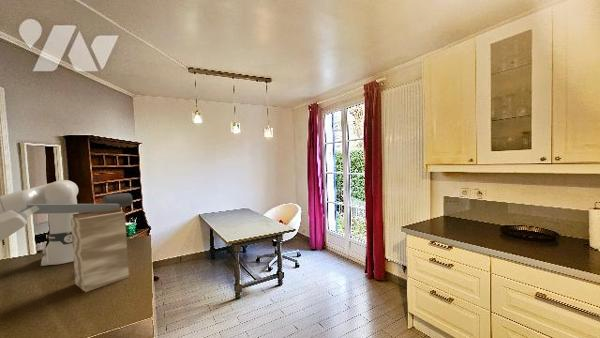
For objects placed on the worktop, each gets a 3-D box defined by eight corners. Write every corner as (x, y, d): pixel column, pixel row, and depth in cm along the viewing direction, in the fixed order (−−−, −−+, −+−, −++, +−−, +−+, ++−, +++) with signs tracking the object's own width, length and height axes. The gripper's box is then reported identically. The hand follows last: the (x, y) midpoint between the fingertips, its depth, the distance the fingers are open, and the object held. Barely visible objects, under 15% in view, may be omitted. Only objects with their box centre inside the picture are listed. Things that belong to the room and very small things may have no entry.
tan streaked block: (75, 283, 101) (70, 213, 101) (117, 270, 113) (113, 207, 112) (85, 292, 94) (79, 216, 93) (129, 277, 105) (124, 209, 105)
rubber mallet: (109, 253, 136) (105, 195, 135) (104, 251, 141) (101, 195, 140) (136, 246, 146) (132, 192, 145) (131, 244, 151) (127, 192, 150)
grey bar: (25, 213, 88) (26, 204, 88) (115, 211, 108) (116, 203, 109) (27, 214, 86) (28, 204, 86) (118, 211, 107) (119, 204, 107)
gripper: (-13, 238, 87) (37, 211, 96) (-6, 249, 75) (49, 216, 84) (-29, 224, 84) (23, 197, 94) (-26, 232, 72) (34, 200, 81)
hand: (36, 206), depth 89 cm, fingers closed on grey bar, 3 cm apart
